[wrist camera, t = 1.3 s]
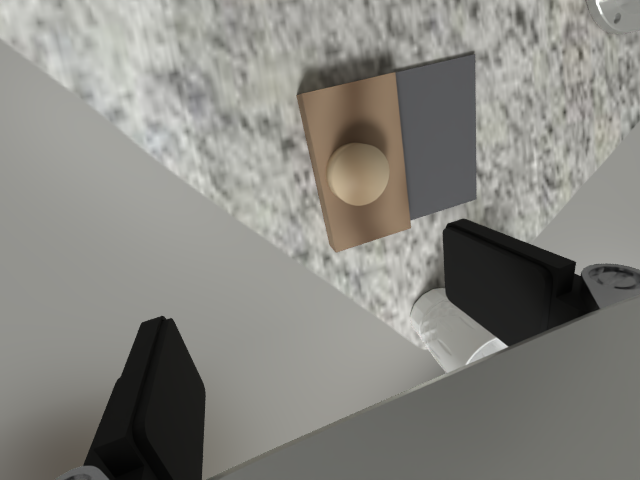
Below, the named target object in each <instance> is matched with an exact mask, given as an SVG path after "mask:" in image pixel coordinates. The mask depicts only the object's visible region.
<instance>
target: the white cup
mask: <svg viewBox="0 0 640 480" xmlns="http://www.w3.org/2000/svg"><path fill="white" fill-rule="evenodd" d="M410 321H411V326H412V328H413V329H414V330H415V332H416V333H417V334H418V335H419V337H420V338H421V339H422V341H423V343H424V345H425V346H426V347H427V348H428V350H429V351H430V353H431V354H432V355H433V356H434V358H435V359H436V361H437V362H438V363H439V365H440V366H441V367H442V368H443V369H444V371H445V372H446V373H448V372H451V371H453V370H455V369H458V368H460V367H462V366H465V365H467V364H469V363H472V362H474V361H476V360H479V359H481V358H483V357H486V356H488V355H490V354H493V353H495V352H497V351H500V350H502V349H504V348H507V347H508V346H507V345H506V344H504V343H503V342H502V341H500V340H499V339H498V338H496V337H495V336H494V335H493V334H491V333H490V332H489V331H487V330H486V329H485V328H484V327H482V326H481V325H480V324H478V323H477V322H476V321H474V320H473V319H472V318H471V317H469V316H468V315H467V314H465V313H464V312H463V311H461V310H460V309H459V308H458V307H456V306H455V305H454V304H452V303H451V302H450V301H449V300H448V298H447V296H446V293H445V288H437V289H432V290H430V291H429V292H427V293H425V294H423V295H422V296H421V297H420V298H419V299H418V301H417V302H416V303H415V304H414V306H413V309H412V311H411V314H410Z"/></svg>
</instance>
